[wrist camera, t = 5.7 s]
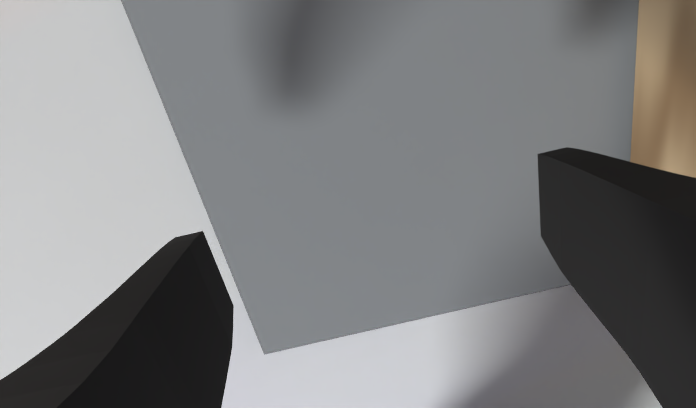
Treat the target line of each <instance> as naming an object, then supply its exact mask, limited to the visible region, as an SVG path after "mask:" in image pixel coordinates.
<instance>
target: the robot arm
mask: <svg viewBox="0 0 696 408" xmlns="http://www.w3.org/2000/svg"><path fill="white" fill-rule="evenodd" d="M538 179H539V204H540V229H541V237H542V239H543V241H544V243H545V244H546V246H547V248H548V250H549V252H550V253H551V255H552V257H553V259H554V260H555V262H556V264H557V265H558V267H559V269H560V270H561V272H562V273H563V275H564V276H565V277H566V278H567V280H568V281H569V282H570V284H571V285H572V286H573V287H574V289H575V290H576V291H577V292H578V294H579V295H580V296H581V298H582V299H583V300H584V301H585V303H586V304H587V305H588V306H589V308H590V309H591V310H592V311H593V312H594V314H595V315H596V316H597V317H598V319H599V320H600V321H601V322H602V324H603V325H604V326H605V327H606V329H607V330H608V331H609V332H610V334H611V335H612V336H613V337H614V339H615V340H616V341H617V342H618V344H619V345H620V346H621V347H622V348H623V350H624V351H625V352H626V354H627V355H628V356H629V358H630V359H631V360H632V362H633V363H634V365H635V366H636V367H637V369H638V370H639V371H640V373H641V375H642V376H643V378H644V379H645V381H646V382H647V384H648V385H649V387H650V389H651V390H652V392H653V393H654V395H655V396H656V398H657V400H658V401H659V403H660V404H661V406H662V407H663V408H696V178H694V177H689V176H685V175H680V174H676V173H672V172H668V171H664V170H660V169H656V168H652V167H648V166H644V165H640V164H636V163H633V162H629V161H625V160H621V159H618V158H614V157H610V156H606V155H602V154H598V153H594V152H590V151H586V150H581V149H576V148H568V147H566V148H561V149H557V150H553V151H548V152H544V153H540V154H538ZM232 337H233V304H232V301H231V299H230V296H229V294H228V291H227V289H226V287H225V284H224V282H223V279H222V277H221V274H220V272H219V269H218V267H217V265H216V262H215V260H214V257H213V255H212V252H211V250H210V247H209V245H208V243H207V240H206V238H205V235H204V233H203V231H201V232H197V233H193V234H188V235H184V236H180V237H175V238H174V239H172V240H171V241H170V242H168V243H167V244H166V245H165V246H163V247H162V248H161V249H160V250H159V251H158V252H157V253H155V254H154V255H153V256H152V257H151V258H150V259H149V260H148V261H147V262H146V263H145V264H144V265H142V266H141V267H140V268H139V269H138V270H137V271H136V272H135V273H134V274H133V275H132V276H131V277H130V278H129V279H127V280H126V281H125V282H124V283H123V284H122V285H121V286H120V287H119V288H118V289H117V290H116V291H115V292H113V293H112V294H111V295H110V296H109V297H108V298H107V299H105V300H104V301H103V302H102V303H101V304H100V305H99V306H97V307H96V308H95V309H94V310H93V311H92V312H90V313H89V314H88V315H87V316H86V317H85V318H83V319H82V320H81V321H80V322H79V323H78V324H77V325H75V326H74V327H73V328H72V329H70V330H69V331H68V332H67V333H65V334H64V335H63V336H62V337H60V338H59V339H58V340H56V341H55V342H54V343H53V344H51V345H50V346H49V347H47V348H46V349H45V350H43V351H42V352H40V353H39V354H38V355H36V356H35V357H34V358H32V359H31V360H29V361H28V362H27V363H25V364H24V365H22V366H21V367H20V368H18V369H17V370H15V371H14V372H12V373H11V374H9V375H8V376H6V377H4V378H3V379H1V380H0V408H221V405H222V400H223V395H224V389H225V384H226V378H227V373H228V367H229V361H230V356H231V350H232Z"/></svg>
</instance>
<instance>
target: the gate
mask: <svg viewBox="0 0 696 408" xmlns="http://www.w3.org/2000/svg"><path fill="white" fill-rule="evenodd" d="M630 162H633V163H636V164H640V165H644V166H648V167H652V168H656V169H660V170H664V171H668V172H672V173H676V174H680V175H685V176H689V177H694V178H696V0H639V10H638V29H637V47H636V65H635V83H634V102H633V120H632V138H631V156H630Z"/></svg>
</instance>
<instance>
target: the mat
mask: <svg viewBox="0 0 696 408" xmlns="http://www.w3.org/2000/svg"><path fill="white" fill-rule="evenodd" d="M121 1H122V4H123V6H124V9H125V11H126V14H127V16H128V18H129V21H130V23H131V26H132V28H133V31H134V33H135V36H136V38H137V41H138V43H139V46H140V48H141V51H142V53H143V56H144V58H145V61H146V63H147V65H148V68H149V70H150V73H151V75H152V78H153V80H154V83H155V85H156V88H157V90H158V93H159V95H160V98H161V100H162V103H163V105H164V108H165V110H166V113H167V115H168V117H169V120H170V122H171V125H172V127H173V130H174V132H175V135H176V137H177V140H178V142H179V145H180V147H181V150H182V152H183V155H184V157H185V160H186V162H187V164H188V167H189V169H190V172H191V174H192V177H193V179H194V182H195V184H196V187H197V189H198V192H199V194H200V197H201V199H202V202H203V204H204V207H205V209H206V211H207V214H208V216H209V219H210V221H211V224H212V226H213V229H214V231H215V234H216V236H217V239H218V241H219V244H220V246H221V249H222V251H223V254H224V256H225V259H226V261H227V263H228V266H229V268H230V271H231V273H232V276H233V278H234V281H235V283H236V286H237V288H238V291H239V293H240V296H241V298H242V301H243V303H244V306H245V308H246V310H247V313H248V315H249V318H250V320H251V323H252V325H253V328H254V330H255V333H256V335H257V338H258V340H259V343H260V345H261V348H262V350H263V353H264V354H268V353H273V352H277V351H282V350H286V349H290V348H295V347H299V346H303V345H308V344H312V343H317V342H321V341H325V340H330V339H334V338H339V337H343V336H347V335H352V334H356V333H361V332H365V331H369V330H374V329H378V328H382V327H387V326H391V325H396V324H400V323H404V322H409V321H413V320H418V319H422V318H426V317H431V316H435V315H440V314H444V313H448V312H453V311H457V310H461V309H466V308H470V307H475V306H479V305H483V304H488V303H492V302H497V301H501V300H505V299H510V298H514V297H519V296H523V295H527V294H532V293H536V292H540V291H545V290H549V289H554V288H558V287H562V286H567V285H571V284H570V282H569V281H568V280H567V278H566V277H565V276H564V275H563V273H562V272H561V270H560V269H559V267H558V265H557V264H556V262H555V260H554V259H553V257H552V255H551V253H550V252H549V250H548V248H547V246H546V244H545V243H544V241H543V239H542V237H541V229H540V204H539V179H538V154H540V153H544V152H548V151H553V150H557V149H561V148H566V147H568V148H576V149H581V150H586V151H590V152H594V153H598V154H602V155H606V156H610V157H614V158H618V159H621V160H625V161H629V162H630V156H631V138H632V120H633V102H634V83H635V65H636V47H637V29H638V10H639V0H121Z"/></svg>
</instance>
